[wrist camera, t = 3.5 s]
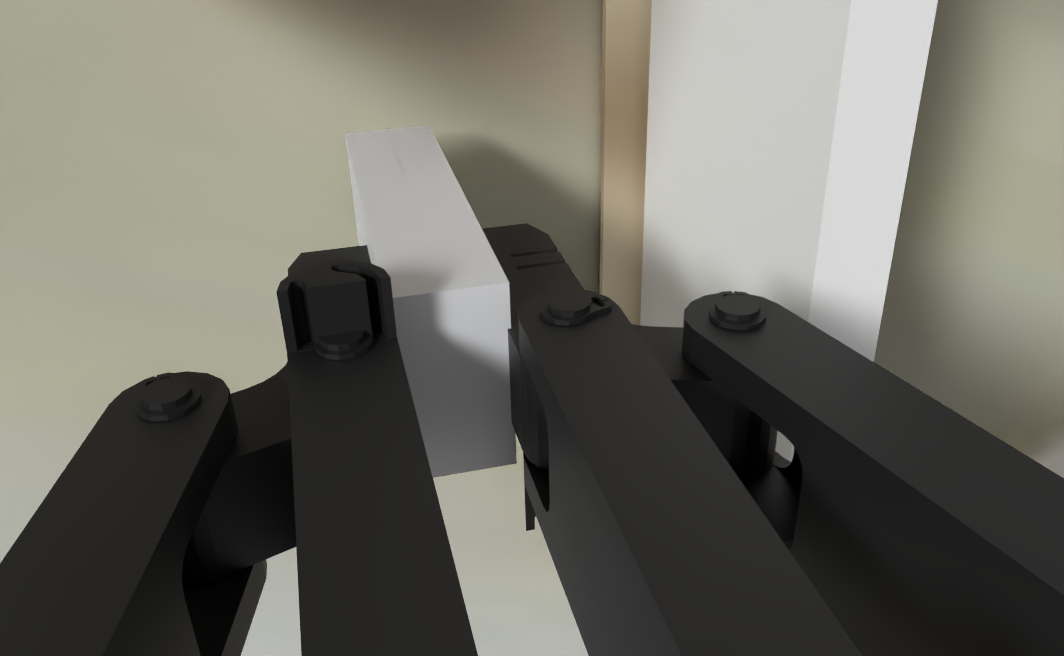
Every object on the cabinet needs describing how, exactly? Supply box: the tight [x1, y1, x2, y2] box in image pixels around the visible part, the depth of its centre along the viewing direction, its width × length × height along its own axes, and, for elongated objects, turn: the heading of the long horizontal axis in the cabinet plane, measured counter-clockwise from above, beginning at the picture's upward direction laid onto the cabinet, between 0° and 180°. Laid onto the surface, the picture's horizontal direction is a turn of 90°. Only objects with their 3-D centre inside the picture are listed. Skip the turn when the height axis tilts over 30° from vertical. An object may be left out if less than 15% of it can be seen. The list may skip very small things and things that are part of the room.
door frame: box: [599, 0, 652, 325], centre depth 15 cm, size 27×3×10 cm, turn 2°
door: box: [640, 0, 938, 462], centre depth 17 cm, size 17×2×7 cm, turn 2°
